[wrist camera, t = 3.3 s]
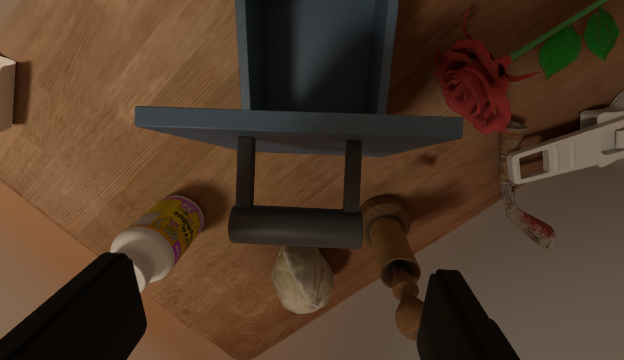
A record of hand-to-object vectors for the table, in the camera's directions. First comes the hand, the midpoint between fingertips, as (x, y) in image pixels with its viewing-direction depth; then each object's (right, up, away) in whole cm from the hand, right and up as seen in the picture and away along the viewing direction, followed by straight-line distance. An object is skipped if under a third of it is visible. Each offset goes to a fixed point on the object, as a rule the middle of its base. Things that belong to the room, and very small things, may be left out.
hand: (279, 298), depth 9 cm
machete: (+29, +3, +27) cm, 40 cm away
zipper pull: (+31, +8, +25) cm, 41 cm away
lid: (+1, +7, +10) cm, 12 cm away
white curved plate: (-34, +13, +25) cm, 44 cm away
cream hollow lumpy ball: (0, -7, +33) cm, 34 cm away
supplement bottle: (-17, -1, +32) cm, 36 cm away
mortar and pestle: (+10, -1, +30) cm, 32 cm away
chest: (+2, +17, +23) cm, 29 cm away
